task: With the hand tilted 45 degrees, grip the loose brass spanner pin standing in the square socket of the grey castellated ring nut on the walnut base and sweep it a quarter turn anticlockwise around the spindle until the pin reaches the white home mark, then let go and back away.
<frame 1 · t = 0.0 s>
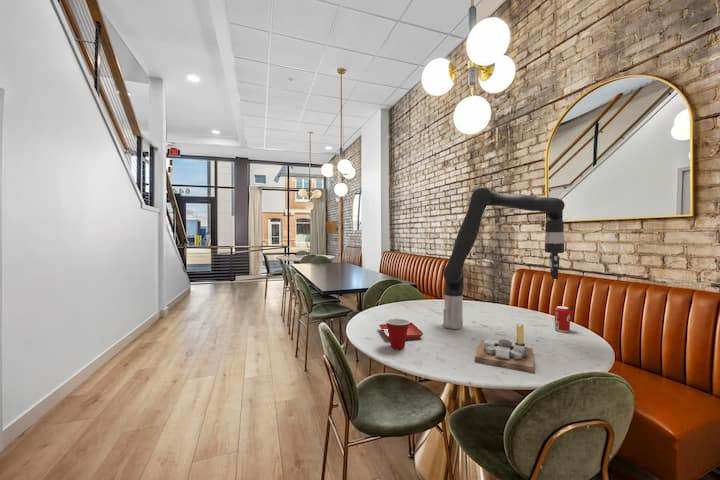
hand: (554, 277, 137), 29 cm above the table, tool pointing down, fingers open, 8 cm apart
plant saucer: (400, 335, 148), on the table
walnut base: (504, 357, 121), on the table
beverage can: (562, 331, 151), on the table
ring nut: (504, 346, 120), point 4 cm above the table, hinge at 0.0°
brass pin: (519, 355, 118), point 2 cm above the table, touching walnut base
plastic cup: (397, 347, 132), on the table
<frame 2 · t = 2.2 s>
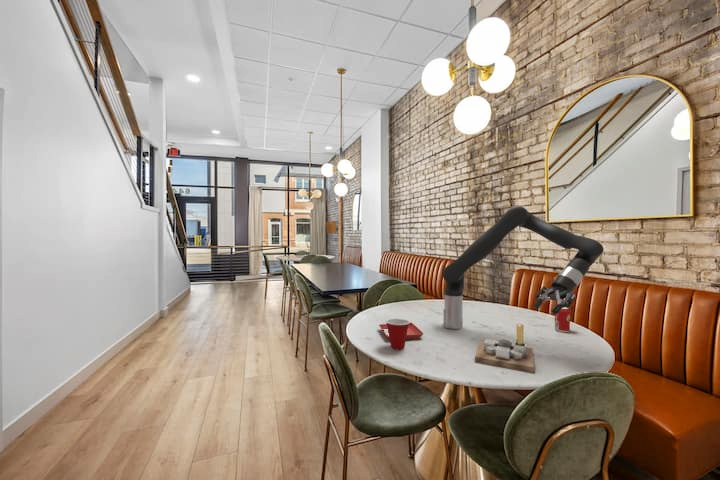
hand: (544, 310, 120), 19 cm above the table, tool tilted 45°, fingers open, 8 cm apart
nothing on the table moved.
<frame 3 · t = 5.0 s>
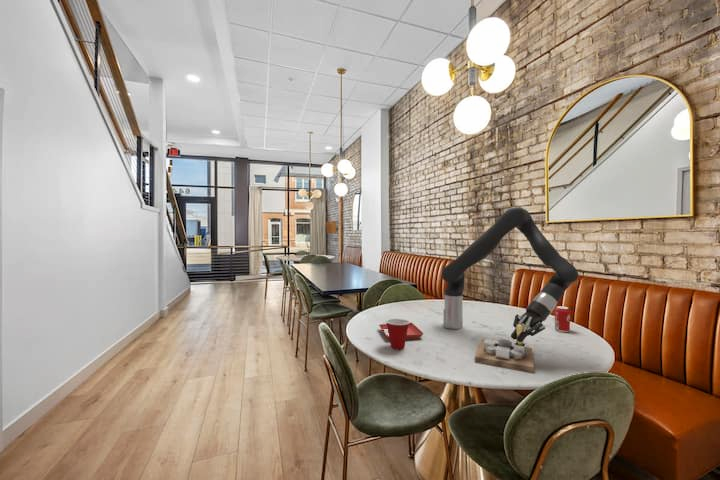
hand: (515, 339, 117), 8 cm above the table, tool tilted 45°, fingers closed on brass pin, 2 cm apart
brass pin: (519, 355, 118), point 2 cm above the table, touching gripper, walnut base
everything else where it was.
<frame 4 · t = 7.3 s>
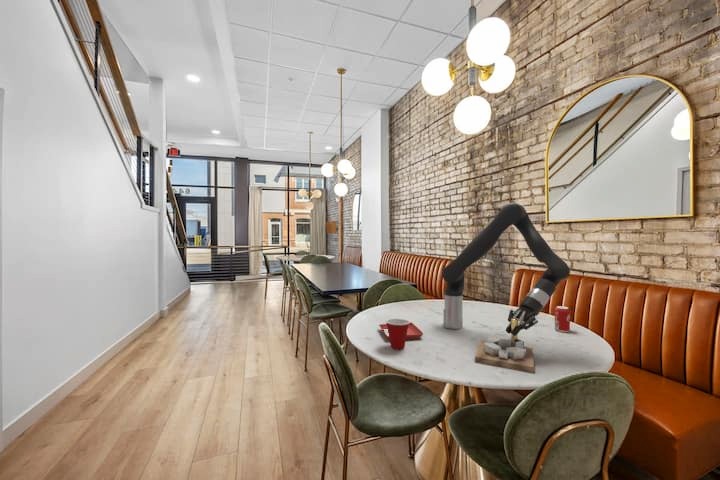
hand: (510, 333, 122), 9 cm above the table, tool tilted 45°, fingers closed on brass pin, 2 cm apart
ring nut: (504, 346, 120), point 4 cm above the table, hinge at 47.1°, touching brass pin
brass pin: (514, 348, 122), point 3 cm above the table, touching gripper, ring nut
everything else where it was.
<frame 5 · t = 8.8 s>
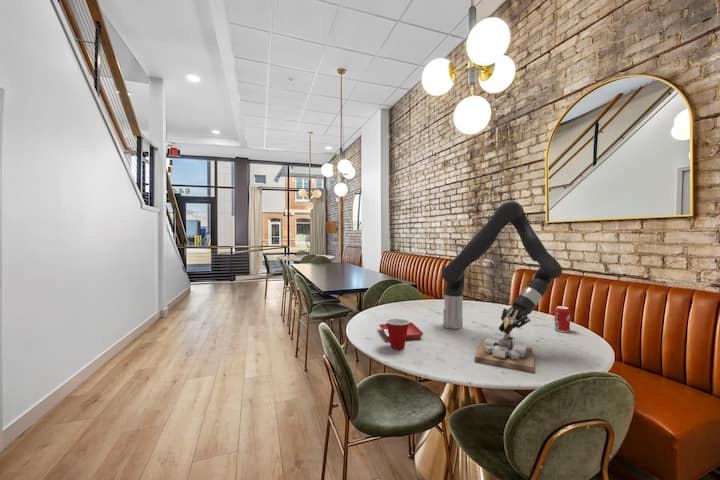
hand: (503, 331, 124), 9 cm above the table, tool tilted 45°, fingers closed on brass pin, 2 cm apart
ring nut: (504, 346, 120), point 4 cm above the table, hinge at 80.0°, touching brass pin
brass pin: (507, 346, 125), point 3 cm above the table, touching gripper, ring nut
everything else where it was.
when the fingers open (9 cm above the table, at t = 9.4 s): brass pin stays where it is, resting on walnut base.
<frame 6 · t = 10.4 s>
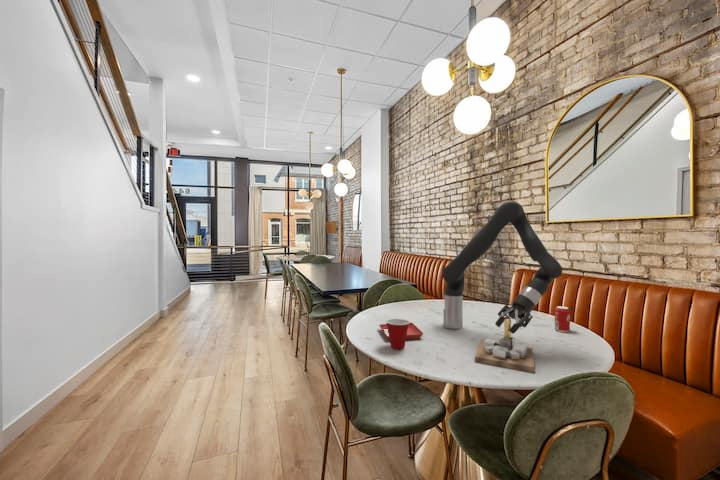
hand: (503, 328, 125), 10 cm above the table, tool tilted 45°, fingers open, 8 cm apart
ring nut: (504, 346, 120), point 4 cm above the table, hinge at 80.8°
brass pin: (507, 348, 124), point 2 cm above the table, touching walnut base
everything else where it was.
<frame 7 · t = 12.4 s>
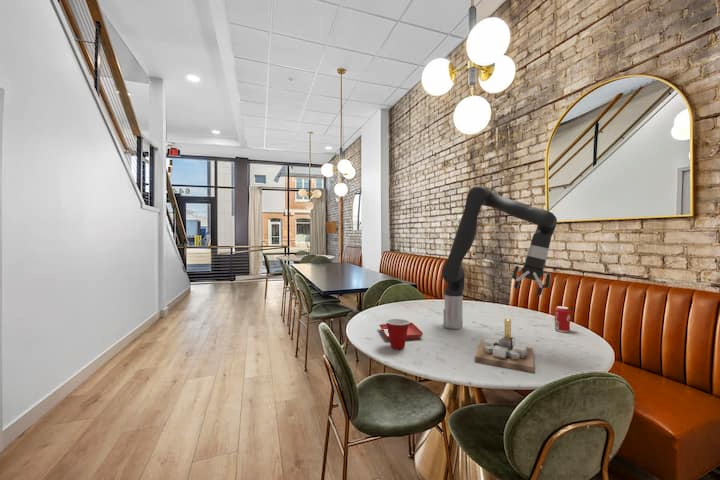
hand: (526, 292, 131), 24 cm above the table, tool pointing down, fingers open, 8 cm apart
nothing on the table moved.
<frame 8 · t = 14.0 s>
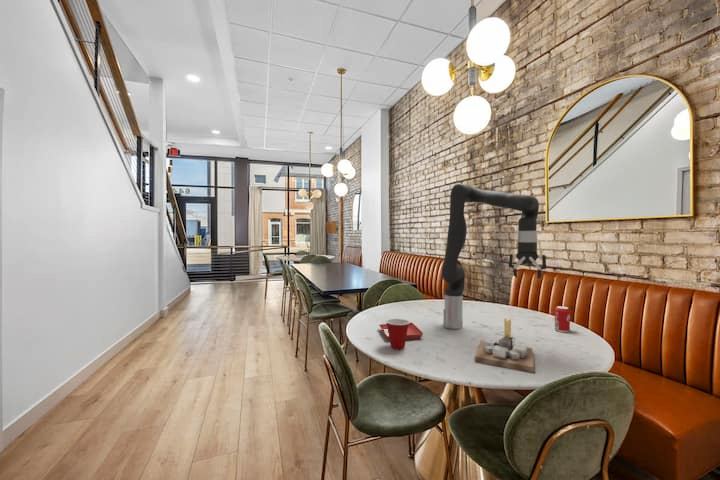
hand: (527, 277, 132), 30 cm above the table, tool pointing down, fingers open, 8 cm apart
nothing on the table moved.
at the end: ring nut at +81° (first picture: +0°); the gripper is holding nothing; brass pin point 2.0 cm above the table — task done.
